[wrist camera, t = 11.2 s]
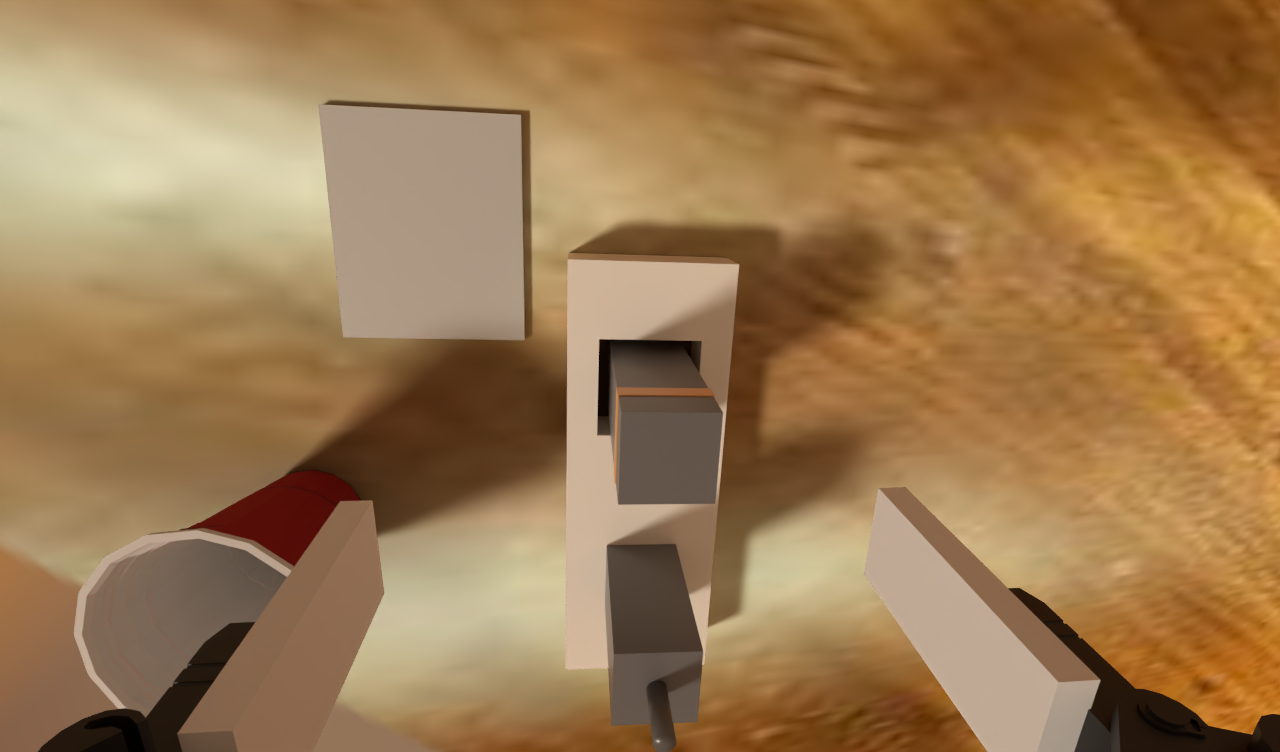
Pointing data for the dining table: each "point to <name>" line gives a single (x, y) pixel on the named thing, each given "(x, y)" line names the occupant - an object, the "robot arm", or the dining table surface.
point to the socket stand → (640, 533)
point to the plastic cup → (195, 585)
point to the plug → (661, 425)
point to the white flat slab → (426, 222)
